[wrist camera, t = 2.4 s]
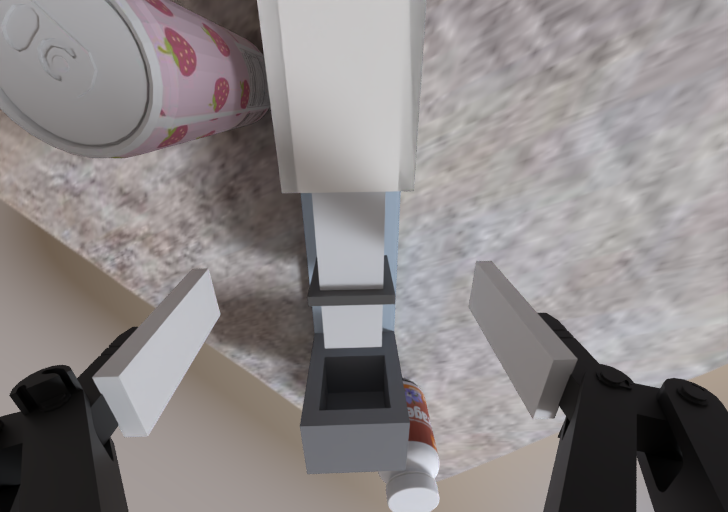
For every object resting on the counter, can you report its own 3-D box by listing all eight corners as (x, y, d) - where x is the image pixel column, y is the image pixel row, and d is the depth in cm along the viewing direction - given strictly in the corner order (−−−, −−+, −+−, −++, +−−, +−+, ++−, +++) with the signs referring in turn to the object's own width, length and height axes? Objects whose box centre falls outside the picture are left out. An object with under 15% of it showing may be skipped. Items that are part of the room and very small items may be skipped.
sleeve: (293, 11, 20) (251, -47, 12) (397, 11, 20) (429, -47, 12) (306, 159, 24) (281, 193, 16) (393, 157, 24) (413, 191, 16)
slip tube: (286, -94, 15) (256, -180, 11) (397, -93, 15) (417, -177, 11) (320, 308, 26) (313, 356, 21) (385, 306, 26) (392, 353, 22)
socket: (314, 333, 32) (299, 426, 23) (394, 331, 32) (409, 422, 23) (319, 375, 34) (307, 474, 26) (392, 373, 35) (405, 470, 26)
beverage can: (200, 17, 21) (-79, -125, 7) (285, 57, 22) (177, -2, 8) (186, 105, 23) (-45, 121, 10) (263, 137, 24) (153, 191, 11)
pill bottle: (433, 398, 38) (462, 504, 28) (393, 420, 40) (406, 527, 30) (403, 370, 36) (423, 474, 26) (361, 395, 38) (365, 502, 28)
